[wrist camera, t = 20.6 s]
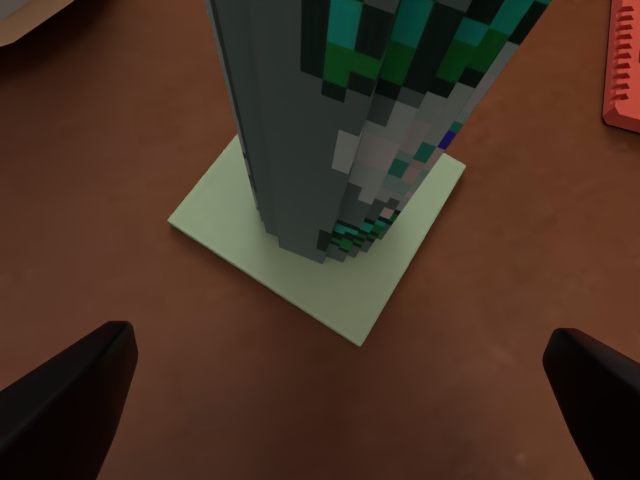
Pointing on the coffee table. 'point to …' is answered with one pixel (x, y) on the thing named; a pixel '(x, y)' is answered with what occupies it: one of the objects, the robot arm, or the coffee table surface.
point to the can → (354, 103)
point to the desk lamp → (25, 16)
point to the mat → (302, 273)
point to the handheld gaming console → (623, 67)
